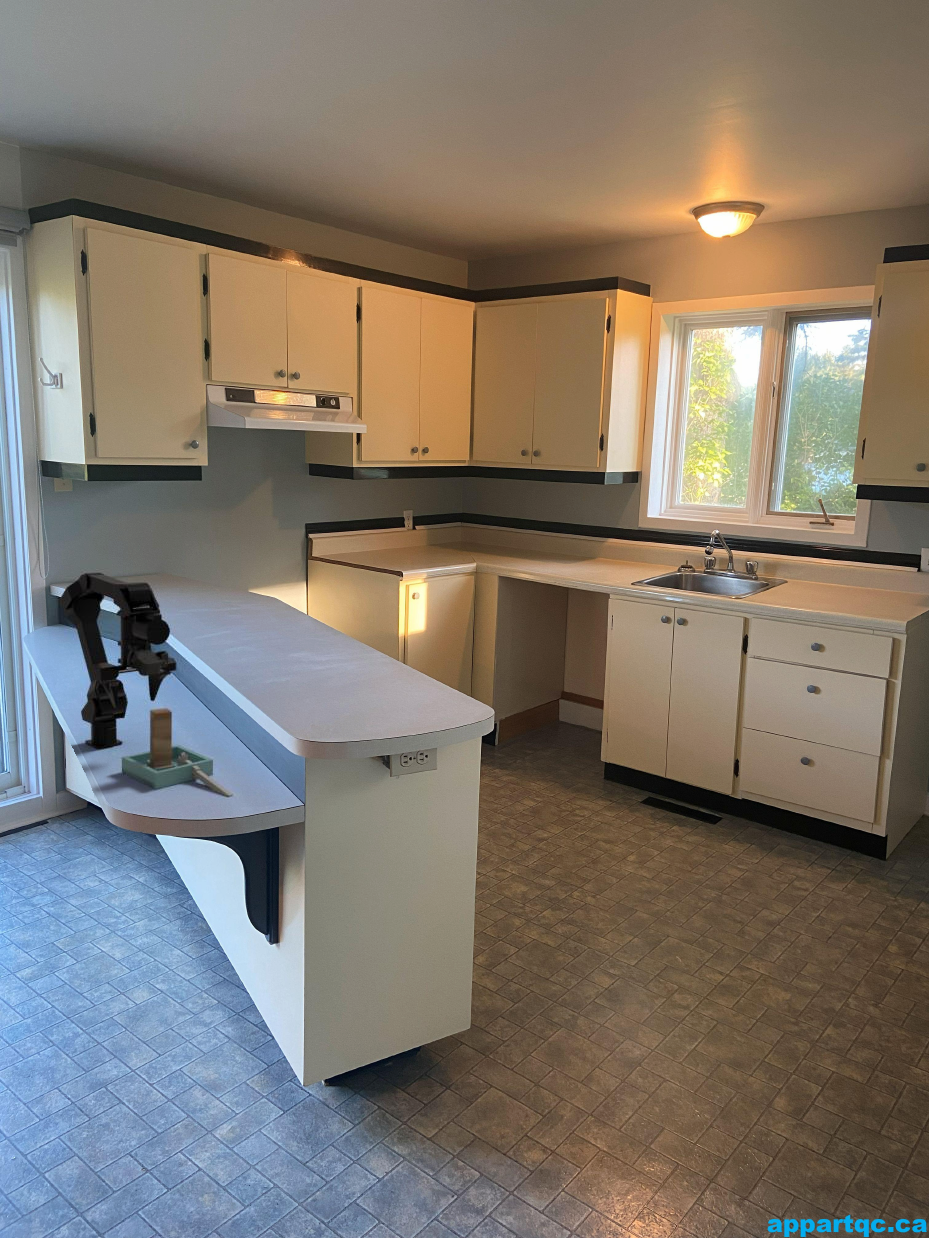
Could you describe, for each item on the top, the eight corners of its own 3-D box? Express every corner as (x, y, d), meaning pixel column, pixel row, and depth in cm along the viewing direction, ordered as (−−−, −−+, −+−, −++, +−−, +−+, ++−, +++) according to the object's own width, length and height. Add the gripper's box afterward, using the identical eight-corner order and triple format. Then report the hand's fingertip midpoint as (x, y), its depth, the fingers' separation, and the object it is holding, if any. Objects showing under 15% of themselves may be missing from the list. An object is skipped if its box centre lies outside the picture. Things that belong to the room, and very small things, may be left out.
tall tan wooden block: (146, 766, 198) (146, 708, 196) (166, 763, 201) (166, 706, 198) (155, 775, 193) (155, 715, 191) (175, 772, 196) (175, 713, 193)
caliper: (176, 778, 198) (176, 751, 197) (180, 777, 199) (181, 750, 198) (232, 803, 185) (232, 774, 184) (236, 802, 186) (237, 773, 185)
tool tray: (121, 772, 197) (121, 757, 196) (177, 759, 207) (177, 744, 207) (156, 789, 188) (156, 773, 187) (212, 774, 198) (213, 759, 198)
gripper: (113, 648, 189) (114, 718, 192) (190, 639, 204) (189, 704, 206) (87, 639, 196) (88, 707, 199) (163, 631, 211) (163, 695, 213)
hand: (134, 703), depth 204 cm, fingers open, 9 cm apart
